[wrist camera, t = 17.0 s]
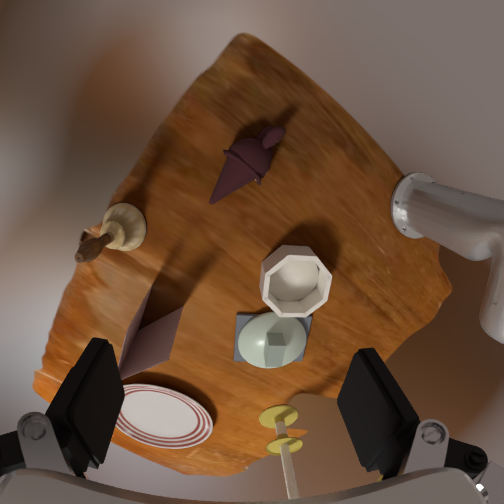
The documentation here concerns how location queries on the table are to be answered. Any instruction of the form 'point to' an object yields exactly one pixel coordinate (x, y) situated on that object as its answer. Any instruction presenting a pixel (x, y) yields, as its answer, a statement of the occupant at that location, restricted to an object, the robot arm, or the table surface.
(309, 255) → the bowl
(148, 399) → the dinner plate
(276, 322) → the lid
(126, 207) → the hand bell
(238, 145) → the icecream
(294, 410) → the candle
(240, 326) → the mat
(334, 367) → the table surface
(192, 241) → the table surface
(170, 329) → the greeting card
